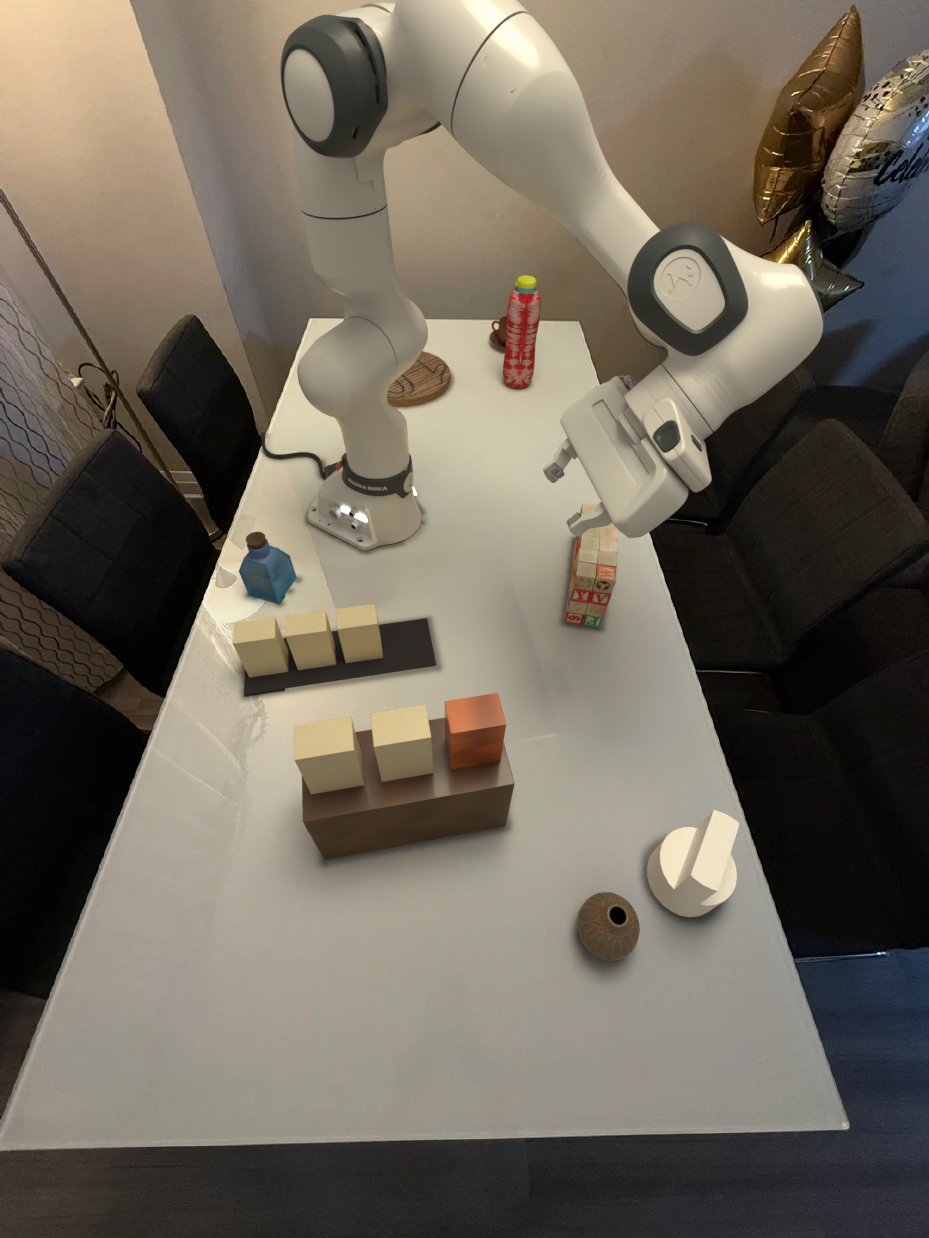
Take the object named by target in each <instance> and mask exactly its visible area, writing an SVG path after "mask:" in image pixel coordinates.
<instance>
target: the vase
mask: <svg viewBox="0 0 929 1238" xmlns="http://www.w3.org/2000/svg"><path fill="white" fill-rule="evenodd" d="M576 926H577V932H578V936H579V938H580V941H581V944H582V945H583V946H584V947H585V948H586V950H587V951H588V952H590V954H592V955H593V956H594V957H596V958H598V959H601V960H604V961H611V962H613V961H618V960H621V959H624V958H625V957H627V956H628V955H630V953H632V951H634V949H635V948H636V946H637V944H638V941H639V939H640V931H641V928H640V921H639V917H638V914H637V911H636V910H635V908H634V907H633V906H632V904H631V903H630V902H629V901H628V900H627V899H626V898H624V897H623V896H621V895H620V894H617V893H615V892H609V891H602V892H598V893H595V894H592V895H591V896H589V897H588V898H587V899H586V900H585V901H584V902H583V904H581V906H580V909H579V911H578V914H577V919H576Z"/></svg>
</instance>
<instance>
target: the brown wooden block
mask: <svg viewBox="0 0 929 1238" xmlns="http://www.w3.org/2000/svg"><path fill="white" fill-rule="evenodd" d="M369 715H370V716H369V717H370V722H371V723H370V724H371V725H370V727H371V729H366V730H360V731H356V728H355V725H354V721H353V718H352V716H351V715H350V716H344V717H338V718H333V719H326V720H320V721H319V720H318V721H312V722H306V723H301V724H294V725H293V751H294V752H293V753H294V755H293V756H294V757H293V759H294V762H295V764H296V767H297V768H298V770H299V773H300V775H301V799H302V800H301V801H302V803H301V805H302V823H303V825H304V827H305V828H306V830H307V832H308V834H309V835H310V838H311V839H312V841H313V842H314V844H315V846H316V848H317V850H318V851H319V853H320V855H321V857H322V858H323V860H324V861H328V860H335V859H339V858H345V857H349V856H355V855H360V854H366V853H370V852H376V851H381V850H386V849H387V850H388V849H392V848H396V847H397V848H398V847H403V846H408V845H412V844H418V843H423V842H424V843H425V842H429V841H434V840H440V839H444V838H450V837H454V836H455V837H456V836H460V835H467V834H471V833H477V832H481V831H487V830H492V829H497V828H502V827H503V828H504V827H506V826H507V822H508V817H509V813H510V809H511V808H510V807H511V803H512V797H513V795H514V788H515V779H514V776H513V771H512V768H511V765H510V760H509V756H508V753H507V749H506V745H505V741H504V742H503V749H502V755H501V761H498V762H492V763H487V764H481V765H475V766H469V767H464V768H458V769H452V770H451V768H450V763H449V757H448V752H447V747H446V742H445V717H439V718H434V719H429V715H428V709H427V705H426V704H419V705H413V706H408V707H402V708H396V709H395V708H394V709H389V710H381V711H377V712H371V713H370V714H369Z"/></svg>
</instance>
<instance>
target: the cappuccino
mask: <svg viewBox="0 0 929 1238" xmlns="http://www.w3.org/2000/svg"><path fill="white" fill-rule="evenodd" d="M495 324H497V325H498V328H495ZM491 330H493V331H491V333H490V334H489V341H490V344H492V345H493V346H494V347H496V348H497V349H500V350H503V351H505V349H506V345H505V344H504V342H505V341H506V339H507V315H504V316H502V317H500V318H499V320H493V321H492V323H491Z"/></svg>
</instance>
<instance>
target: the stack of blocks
mask: <svg viewBox="0 0 929 1238" xmlns="http://www.w3.org/2000/svg"><path fill="white" fill-rule="evenodd" d="M597 505H598V504H595V503H588V502H582V503H581V506H580V512H579V513H580V514H581V515H582V516H583V515H587V514H590V513H593V512H595V511H594V507H595V506H597ZM618 553H619V530H618V529H617V528H616V527H615V526H614V525H613V523H611V524H609V525H608V526H603V527H598V528H592V529H591V528H590V529H589V530H587V531H586V532H585V533H583V534H582V535H581V536H575V539H574V546H573V551H572V559H571V566H570V577H569V587H568V594H567V599H566V607H565V613H564V620H563V623H565V624H570V625H576V626H584V627H590V628H596V629H600V628H601V627H602V623H603V621H604V618H605V613H606V610H607V607H608V606H609V603H610V600H611V597H612V594H613V592H614V588H615V586H616V583H617V571H618V569H617V568H618Z"/></svg>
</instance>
